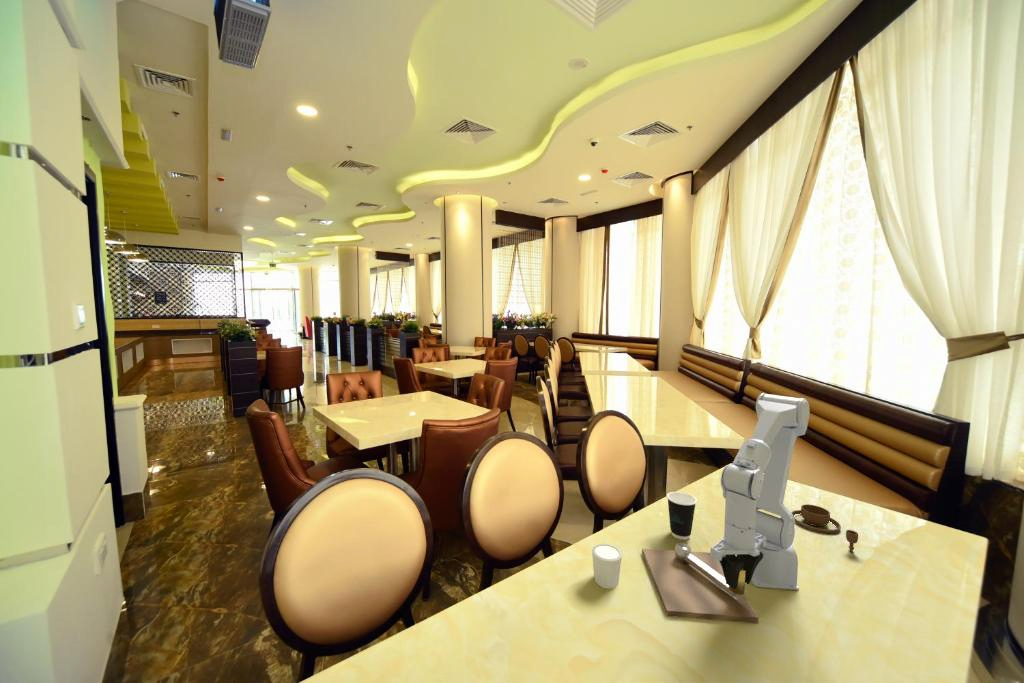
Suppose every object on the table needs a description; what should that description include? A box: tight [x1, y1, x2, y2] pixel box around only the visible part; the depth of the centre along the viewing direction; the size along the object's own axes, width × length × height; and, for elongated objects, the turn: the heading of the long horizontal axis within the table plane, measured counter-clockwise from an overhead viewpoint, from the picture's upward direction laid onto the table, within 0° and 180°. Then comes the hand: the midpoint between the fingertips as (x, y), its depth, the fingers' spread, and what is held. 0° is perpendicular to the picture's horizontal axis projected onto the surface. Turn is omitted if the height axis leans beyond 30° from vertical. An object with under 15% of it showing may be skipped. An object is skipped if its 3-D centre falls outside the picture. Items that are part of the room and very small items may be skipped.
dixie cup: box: [666, 491, 698, 541], centre depth 110 cm, size 8×8×11 cm
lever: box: [674, 542, 746, 596], centre depth 90 cm, size 4×18×7 cm, turn 21°
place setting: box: [790, 504, 859, 554], centre depth 113 cm, size 18×20×6 cm
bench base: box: [641, 548, 760, 624], centre depth 90 cm, size 18×22×1 cm
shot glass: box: [591, 543, 623, 589], centre depth 91 cm, size 7×7×7 cm
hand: (737, 583), depth 83 cm, fingers open, 3 cm apart
